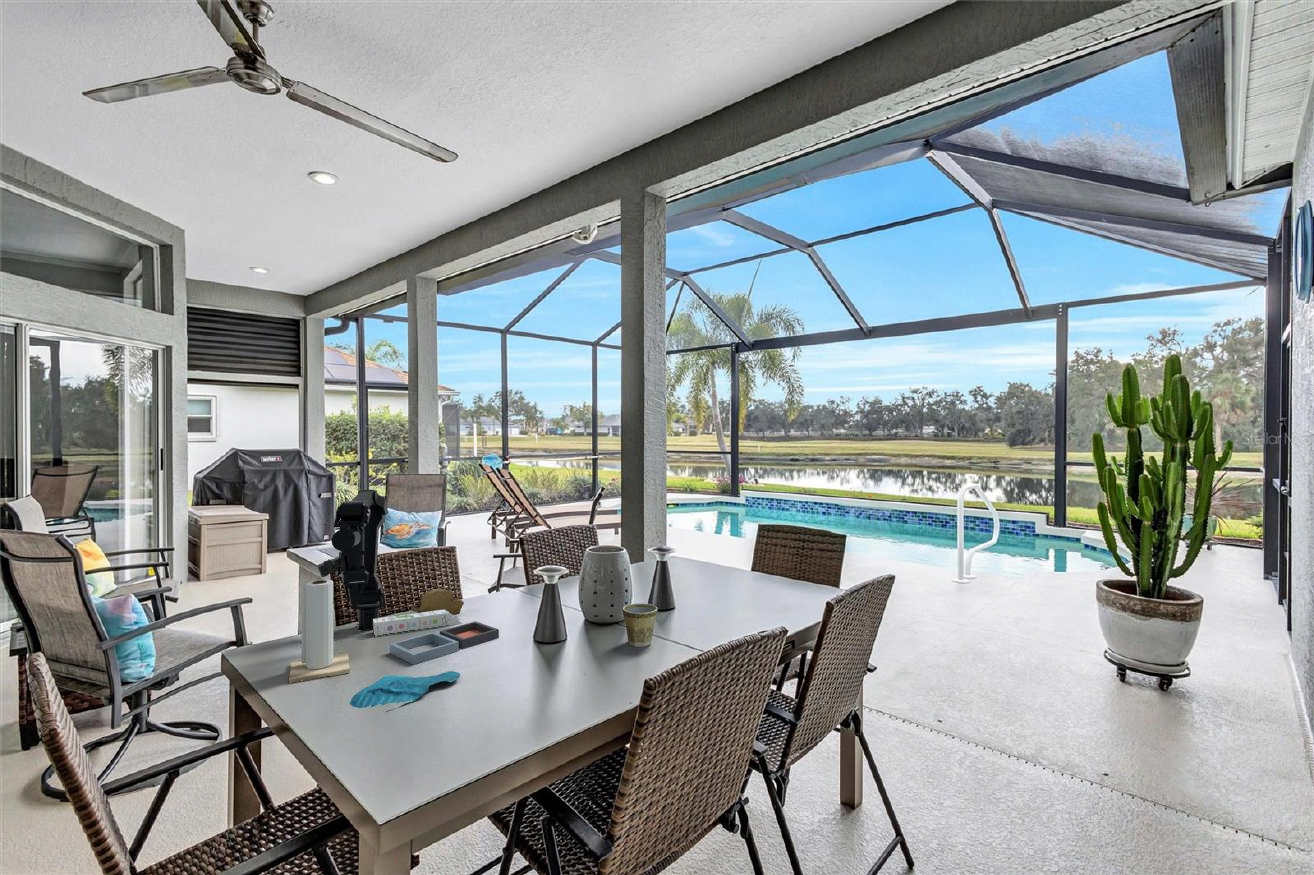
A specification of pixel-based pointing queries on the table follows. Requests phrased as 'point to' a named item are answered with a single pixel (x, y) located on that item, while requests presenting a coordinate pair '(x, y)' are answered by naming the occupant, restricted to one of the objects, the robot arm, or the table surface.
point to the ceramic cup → (639, 623)
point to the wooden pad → (303, 673)
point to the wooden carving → (438, 602)
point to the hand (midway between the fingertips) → (351, 604)
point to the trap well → (471, 634)
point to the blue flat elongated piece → (398, 689)
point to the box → (413, 622)
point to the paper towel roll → (317, 623)
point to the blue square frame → (445, 648)
